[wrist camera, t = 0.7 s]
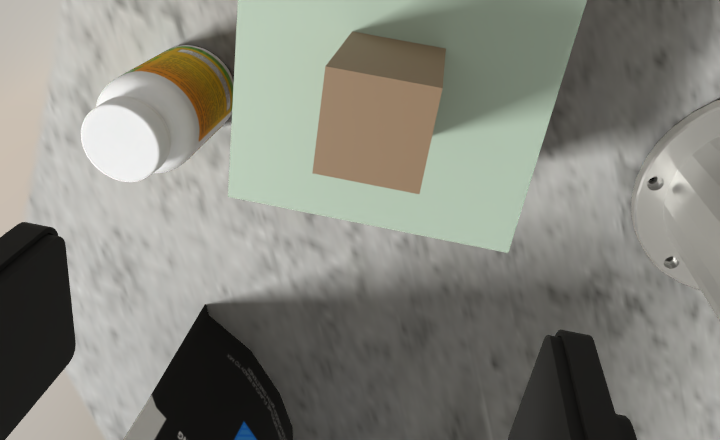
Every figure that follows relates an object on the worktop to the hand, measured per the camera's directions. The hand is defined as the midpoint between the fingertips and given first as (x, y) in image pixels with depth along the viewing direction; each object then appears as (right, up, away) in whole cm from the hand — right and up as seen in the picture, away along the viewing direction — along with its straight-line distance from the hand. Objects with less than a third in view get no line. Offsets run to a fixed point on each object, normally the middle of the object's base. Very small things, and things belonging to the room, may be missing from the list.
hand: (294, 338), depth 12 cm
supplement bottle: (-9, +10, +26) cm, 30 cm away
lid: (+3, +9, +16) cm, 18 cm away
